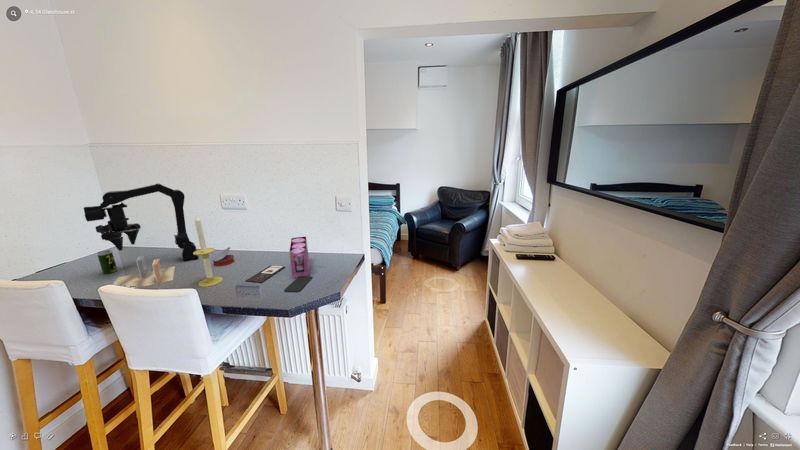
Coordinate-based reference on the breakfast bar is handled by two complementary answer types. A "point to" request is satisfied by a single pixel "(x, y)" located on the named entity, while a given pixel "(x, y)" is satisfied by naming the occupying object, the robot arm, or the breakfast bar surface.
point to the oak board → (149, 280)
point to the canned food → (223, 258)
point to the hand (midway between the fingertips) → (127, 247)
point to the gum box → (299, 257)
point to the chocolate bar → (265, 274)
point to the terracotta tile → (157, 270)
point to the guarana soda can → (107, 262)
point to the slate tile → (142, 266)
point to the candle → (205, 258)
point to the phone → (298, 284)
